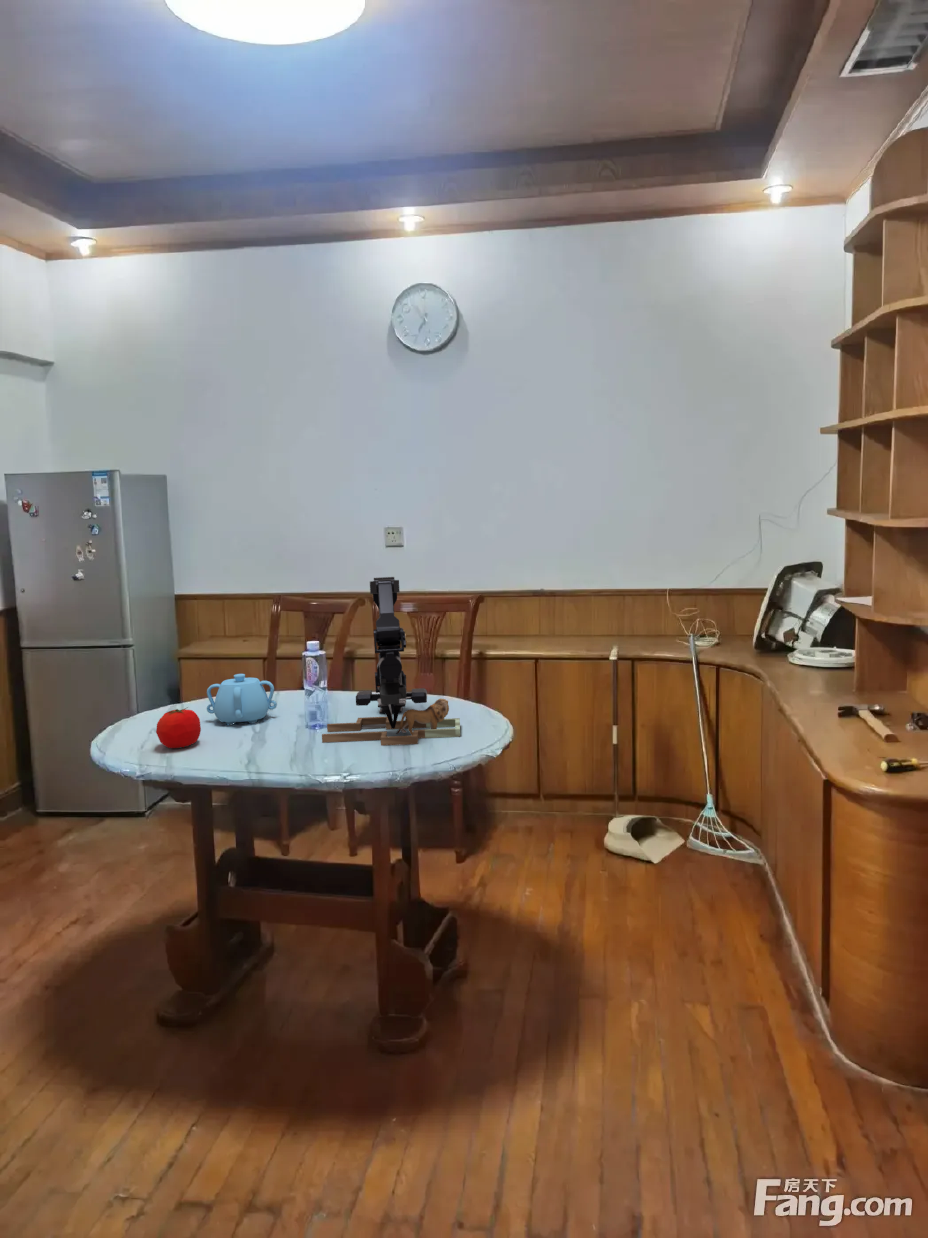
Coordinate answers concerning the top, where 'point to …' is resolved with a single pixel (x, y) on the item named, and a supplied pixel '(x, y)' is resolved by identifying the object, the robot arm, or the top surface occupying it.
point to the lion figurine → (425, 716)
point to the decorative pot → (241, 700)
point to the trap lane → (384, 723)
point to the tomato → (178, 728)
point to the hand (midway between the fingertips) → (393, 728)
